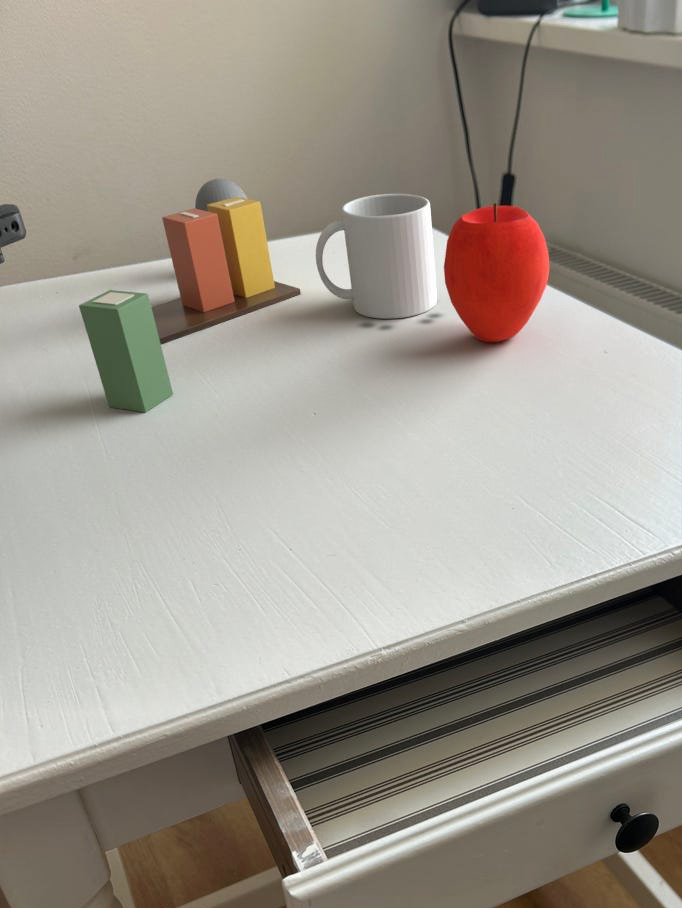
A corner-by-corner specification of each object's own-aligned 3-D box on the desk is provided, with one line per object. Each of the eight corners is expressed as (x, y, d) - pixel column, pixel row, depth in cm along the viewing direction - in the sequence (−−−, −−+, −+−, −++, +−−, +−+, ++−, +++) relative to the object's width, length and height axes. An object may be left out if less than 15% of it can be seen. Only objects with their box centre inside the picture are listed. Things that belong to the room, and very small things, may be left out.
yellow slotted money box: (224, 291, 108) (206, 203, 102) (253, 281, 110) (237, 195, 105) (246, 298, 106) (229, 209, 100) (275, 288, 108) (260, 200, 102)
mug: (451, 295, 105) (444, 196, 99) (409, 325, 99) (400, 221, 92) (364, 285, 109) (353, 189, 103) (318, 314, 102) (303, 213, 96)
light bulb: (244, 259, 119) (227, 170, 113) (269, 269, 116) (253, 178, 109) (200, 270, 116) (180, 180, 110) (224, 281, 113) (205, 188, 106)
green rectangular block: (108, 407, 86) (78, 303, 80) (137, 389, 89) (109, 288, 83) (145, 412, 85) (117, 308, 79) (173, 394, 88) (147, 292, 82)
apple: (550, 355, 91) (549, 216, 83) (444, 358, 91) (434, 221, 84) (549, 317, 99) (548, 187, 91) (452, 320, 99) (443, 191, 92)
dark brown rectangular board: (96, 331, 102) (95, 325, 101) (251, 279, 113) (250, 273, 112) (144, 350, 97) (143, 344, 96) (301, 293, 108) (300, 288, 108)
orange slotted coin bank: (182, 305, 105) (161, 216, 99) (212, 294, 107) (194, 207, 102) (203, 312, 103) (183, 221, 97) (234, 302, 105) (216, 212, 99)
